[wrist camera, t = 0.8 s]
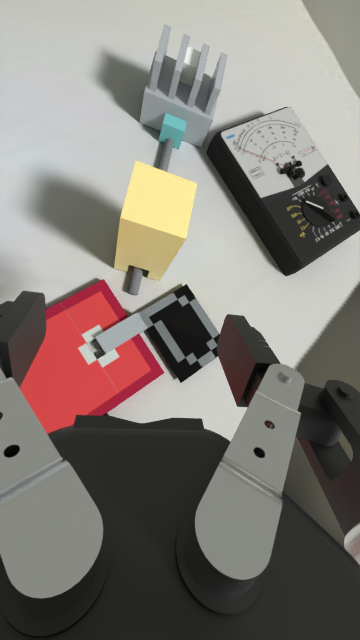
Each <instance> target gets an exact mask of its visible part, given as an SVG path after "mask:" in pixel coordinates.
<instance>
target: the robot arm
mask: <svg viewBox="0 0 360 640" xmlns="http://www.w3.org/2000/svg"><path fill="white" fill-rule="evenodd" d="M45 335H46V307H45V296H44V294H43V293H38V292H29V291H22V292H21V294H20V295H19V296H18V297H17V298H16V300H15V301H14V302H12V301H7V302H5V303H3V304H1V305H0V640H360V393H359V392H358V391H357V390H356V389H355V388H353V387H352V386H350V385H348V384H346V383H344V382H342V381H338V380H329V381H327V382H326V384H325V385H324V387H323V388H319V387H316V386H312V385H309V384H306V383H305V382H304V379H303V377H302V376H301V375H300V374H299V373H298V372H297V371H296V370H294V369H293V368H291V367H289V366H286V365H283V364H281V363H280V362H279V360H278V359H277V357H276V356H275V354H274V353H273V351H272V350H271V348H269V345H268V344H267V342H265V341H266V340H265V339H264V337H263V336H262V334H261V333H260V332H258V331H257V330H256V329H255V328H253V327H250V325H249V323H248V322H247V320H246V319H245V317H244V316H240V315H231V314H228V315H227V316H226V317H225V320H224V323H223V326H222V330H221V333H220V336H219V339H218V343H217V354H218V357H219V359H220V362H221V364H222V367H223V370H224V372H225V375H226V378H227V380H228V383H229V386H230V388H231V391H232V394H233V396H234V399H235V402H236V404H237V407H248V408H247V410H246V412H245V414H244V416H243V418H242V420H241V422H240V424H239V426H238V428H237V430H236V432H235V434H234V436H233V438H232V440H231V442H230V441H229V440H227V439H226V438H224V437H223V436H221V435H219V434H217V433H215V432H213V431H210V430H207V429H204V426H203V422H202V419H194V418H170V419H164V420H159V421H154V422H149V423H143V424H141V423H136V422H132V421H128V420H124V419H120V418H116V417H112V416H99V415H76V417H75V422H74V425H72V426H67V427H64V428H60V429H58V430H55V431H53V432H50V433H48V434H47V433H46V431H45V430H44V428H43V426H42V425H41V423H40V421H39V420H38V418H37V417H36V415H35V413H34V412H33V410H32V408H31V407H30V405H29V403H28V402H27V400H26V398H25V397H24V395H23V393H22V392H21V390H20V386H21V384H22V382H23V380H24V378H25V376H26V374H27V372H28V370H29V368H30V366H31V364H32V362H33V361H34V359H35V357H36V355H37V353H38V351H39V349H40V347H41V345H42V343H43V341H44V338H45ZM342 434H344V436H345V437H346V438H347V440H348V442H349V443H350V444H351V447H352V450H353V459H352V461H350V459H349V457H348V456H347V454H346V452H345V451H344V449H343V448H342V446H341V445H340V443H339V441H338V440H339V438H340V437H341V436H342ZM295 437H298V440H299V442H300V444H301V446H302V448H303V450H304V452H305V454H306V456H307V458H308V461H309V462H310V465H311V467H312V469H313V471H314V473H315V475H316V477H317V479H318V481H319V483H320V485H321V487H322V489H323V492H324V494H325V496H326V498H327V500H328V502H329V504H330V506H331V508H332V510H333V512H334V514H335V516H336V518H337V521H338V522H339V525H340V527H341V529H342V531H343V533H344V535H345V540H344V543H345V544H344V545H345V548H343V547H342V546H341V545H340V544H339V543H338V542H337V541H336V540H335V539H334V538H333V537H332V536H331V535H330V534H329V533H328V532H326V531H325V530H324V529H323V528H322V527H321V526H320V525H319V524H318V523H317V522H316V521H315V520H314V519H313V518H312V517H310V516H309V515H308V514H307V513H306V512H305V511H304V510H303V509H302V508H301V507H300V506H298V504H297V503H296V502H295V501H293V500H292V499H291V498H290V497H289V496H288V495H287V494H286V493H285V492H284V491H283V486H284V482H285V478H286V474H287V469H288V465H289V461H290V457H291V453H292V449H293V445H294V440H295Z"/></svg>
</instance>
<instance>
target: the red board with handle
mask: <svg viewBox="0 0 360 640" xmlns="http://www.w3.org/2000/svg"><path fill="white" fill-rule="evenodd" d="M145 330H147V331H148V333H149V335H150V336H151V338H152V339H153V341H154V342H155V344H156V345H157V347H158V348H159V350H160V352H161V353H162V355H163V356H164V358H165V359H166V361H167V362H168V364H169V365H170V367H171V368H172V370H173V372H174V373H175V375H176V376H177V378H178V379H179V381H180V382H181V383H182V382H183V381H184V380H186V379H187V378H188V377H190V376H191V375H193V374H194V373H195V372H197V371H198V370H199V369H201V368H202V367H204V366H205V365H206V364H208V363H209V362H210V361H212V360H213V359H215V358H216V357H217V356H218V354H217V343H218V339H219V336H220V334H219V333H218V331H217V330H216V328H215V327H214V325H213V324H212V322H211V321H210V319H209V318H208V316H207V314H206V313H205V311H204V310H203V308H202V307H201V305H200V304H199V302H198V301H197V299H196V298H195V296H194V295H193V293H192V292H191V290H190V289H189V287H188V286H187V284H186V285H184V286H183V287H181V288H179V289H178V290H176V291H174V292H173V293H171V294H169V295H168V296H166V297H164V298H163V299H161V300H159V301H158V302H156V303H154V304H152V305H151V306H149V307H147V308H146V309H144V310H142V311H141V312H139V313H135V314H133V315H132V316H130V317H128V316H127V314H126V313H125V311H124V310H123V308H122V307H121V305H120V303H119V302H118V300H117V299H116V297H115V296H114V294H113V293H112V291H111V290H110V288H109V286H108V285H107V283H106V282H105V280H104V279H103V280H101V281H99V282H97V283H95V284H94V285H92V286H90V287H88V288H86V289H84V290H82V291H80V292H78V293H76V294H75V295H73V296H71V297H69V298H67V299H65V300H63V301H61V302H59V303H57V304H56V305H54V306H52V307H50V308H48V309H46V335H45V338H44V341H43V343H42V345H41V347H40V349H39V351H38V353H37V355H36V357H35V359H34V361H33V362H32V364H31V366H30V368H29V370H28V372H27V374H26V376H25V378H24V380H23V382H22V384H21V386H20V390H21V392H22V393H23V395H24V397H25V398H26V400H27V402H28V403H29V405H30V407H31V408H32V410H33V412H34V413H35V415H36V417H37V418H38V420H39V421H40V423H41V425H42V426H43V428H44V430H45V431H46V433H47V434H48V433H50V432H53V431H55V430H58V429H60V428H64V427H67V426H72V425H74V422H75V417H76V415H99V416H109V415H108V414H107V412H109V411H110V410H112V409H113V408H115V407H116V406H117V405H119V404H120V403H122V402H123V401H125V400H126V399H127V398H129V397H130V396H132V395H133V394H135V393H136V392H137V391H139V390H140V389H142V388H143V387H145V386H146V385H147V384H149V383H150V382H152V381H153V380H155V379H156V378H158V377H159V376H160V375H162V374H163V373H164V371H163V370H162V368H161V367H160V365H159V364H158V362H157V361H156V359H155V358H154V356H153V354H152V353H151V351H150V350H149V348H148V347H147V345H146V344H145V342H144V341H143V339H142V337H141V336H140V333H142V332H143V331H145ZM95 339H96V340H97V341H98V343H99V345H100V346H101V348H102V349H103V351H104V352H105V355H103V356H102V357H100V358H99V359H97V358H96V357H95V355H94V353H93V352H92V350H91V349H90V347H89V346H88V343H90V342H91V341H93V340H95Z"/></svg>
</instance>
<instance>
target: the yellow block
mask: <svg viewBox="0 0 360 640" xmlns="http://www.w3.org/2000/svg"><path fill="white" fill-rule="evenodd" d="M196 187H197V183H195V182H192V181H189V180H187V179H184V178H181V177H179V176H176V175H173V174H171V173H168V172H165V171H163V170H160V169H157V168H155V167H152V166H149V165H147V164H144V163H141V162H138V161H136V162H135V165H134V169H133V172H132V176H131V180H130V183H129V187H128V191H127V194H126V198H125V202H124V205H123V209H122V213H121V216H120V223H119V231H118V239H117V247H116V255H115V263H114V268H115V269H119V270H122V271H126V272H127V270H128V266H129V265H131V266H135V267H138V268H142V269H145V270H149V272H148V276H147V278H151V279H154V280H158V281H160V279H161V278H162V276H163V275H164V273H165V271H166V270H167V268H168V267H169V265H170V263H171V262H172V260H173V259H174V257H175V256H176V254H177V252H178V251H179V249H180V248H181V246H182V244H183V243H184V241H185V240H186V236H187V231H188V226H189V221H190V216H191V212H192V207H193V202H194V197H195V192H196Z"/></svg>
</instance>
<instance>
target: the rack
mask: <svg viewBox="0 0 360 640" xmlns="http://www.w3.org/2000/svg"><path fill="white" fill-rule="evenodd" d="M170 30H171V27H169V26H167V25H164V28H163V32H162V35H161V39H160V42H159V46H158V49H157V51H156V52H155V56H154V59H153V63H152V66H151V70H150V73H149V77H148V80H147V84H146V87H145V91H144V97H143V103H142V110H141V117H140V123H141V124H144V125H146V126H149V127H151V128H154V129H156V130H159V131H161V129H162V125H163V121H164V117H165V113H167V114H170V115H172V116H175V117H177V118H179V119H182V120H184V121H186V122H187V124H186V128H185V132H184V135H183V138H182V140H183V141H186V142H188V143H191V144H193V145H196V146H198V147H201V146H202V144H203V142H204V139H205V137H206V135H207V133H208V130H209V128H210V126H211V123H212V121H213V117H214V112H215V107H216V102H217V97H218V95H219V93H220V90H221V85H222V80H223V75H224V70H225V65H226V60H227V55H226V54H224V53H221V55H220V58H219V61H218V63H217V66H216V69H215V71H214V74H213V77H211V76H209V75H206V74H204V69H205V65H206V60H207V56H208V51H209V47H210V46H208V45H206V44H204V43H203V47H202V50H201V52H199V51H197V50H195V49H193V48H191V47H188V44H189V40H190V37H189V36H187V35H185V34H184V35H183V39H182V43H181V47H180V51H179V55H178V59H177V60H174V59H172V58H170V57H168V56H166V50H167V45H168V40H169V35H170Z"/></svg>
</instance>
